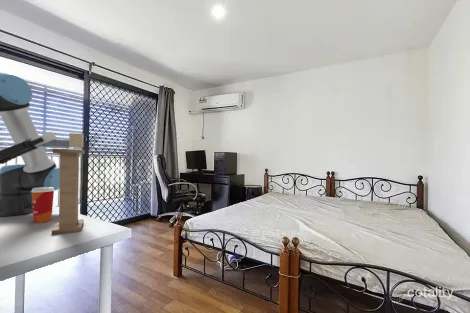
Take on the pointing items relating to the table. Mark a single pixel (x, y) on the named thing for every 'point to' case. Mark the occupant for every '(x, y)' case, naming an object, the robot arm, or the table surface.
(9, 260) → the table surface
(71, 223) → the stand
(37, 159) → the robot arm
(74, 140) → the gray and beige block
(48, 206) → the paper cup
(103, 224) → the table surface
